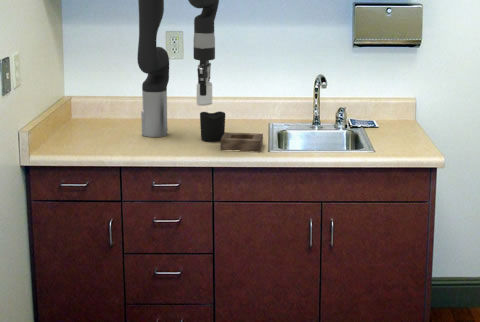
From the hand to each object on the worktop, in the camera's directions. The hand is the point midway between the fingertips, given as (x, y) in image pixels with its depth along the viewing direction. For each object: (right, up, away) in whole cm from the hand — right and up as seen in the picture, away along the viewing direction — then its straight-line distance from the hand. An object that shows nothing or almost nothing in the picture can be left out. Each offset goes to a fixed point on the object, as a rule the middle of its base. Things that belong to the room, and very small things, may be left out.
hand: (204, 93), depth 275 cm
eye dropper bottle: (0, -4, +1) cm, 4 cm away
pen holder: (+2, -16, +16) cm, 23 cm away
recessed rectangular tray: (+13, -19, +5) cm, 24 cm away
